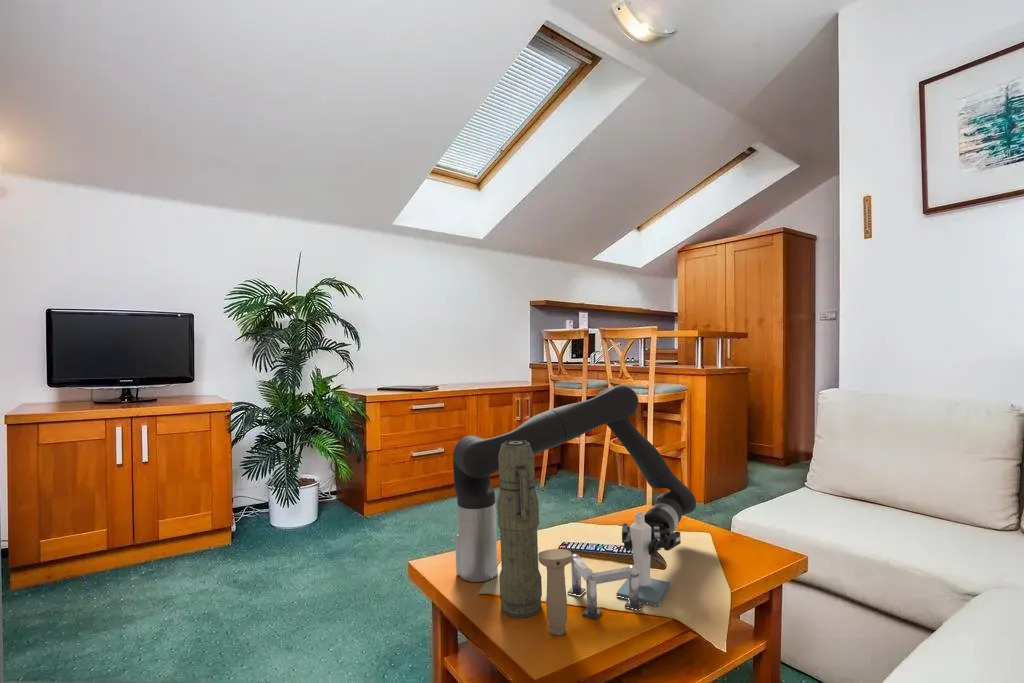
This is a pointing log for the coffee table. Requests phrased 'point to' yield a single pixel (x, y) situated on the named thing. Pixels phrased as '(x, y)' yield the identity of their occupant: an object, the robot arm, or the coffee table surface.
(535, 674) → the coffee table surface
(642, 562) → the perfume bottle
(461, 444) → the robot arm
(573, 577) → the bent rail
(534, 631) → the coffee table surface
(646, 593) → the slate mat
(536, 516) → the thermos
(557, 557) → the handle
